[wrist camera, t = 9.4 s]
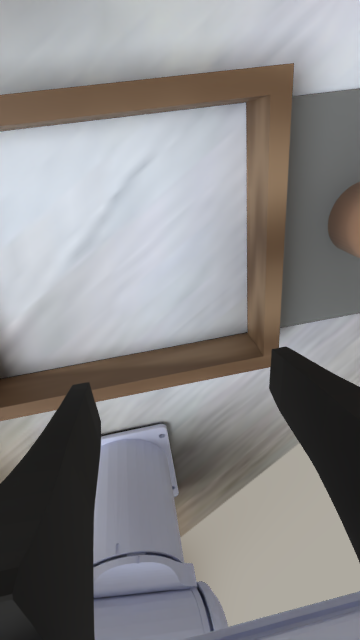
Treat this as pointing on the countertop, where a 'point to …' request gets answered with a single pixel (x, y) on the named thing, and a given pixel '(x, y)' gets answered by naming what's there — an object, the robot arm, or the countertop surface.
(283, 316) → the slate mat
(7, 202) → the countertop surface
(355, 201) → the wooden drawer knob
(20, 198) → the countertop surface
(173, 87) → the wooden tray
